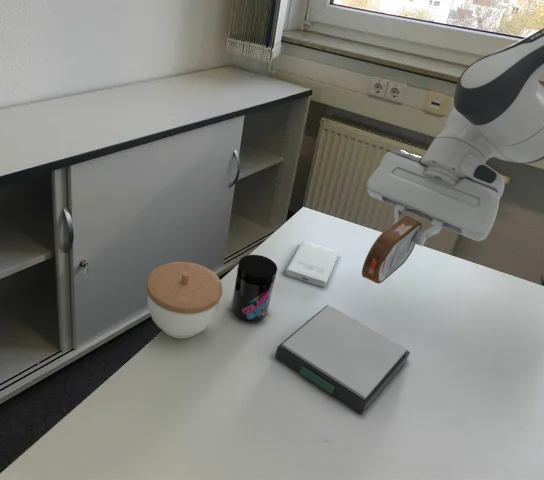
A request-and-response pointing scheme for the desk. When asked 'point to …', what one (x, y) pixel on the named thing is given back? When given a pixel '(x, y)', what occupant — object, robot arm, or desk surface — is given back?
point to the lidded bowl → (183, 298)
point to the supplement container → (253, 287)
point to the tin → (391, 250)
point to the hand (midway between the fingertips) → (405, 238)
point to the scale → (343, 357)
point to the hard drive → (312, 263)
